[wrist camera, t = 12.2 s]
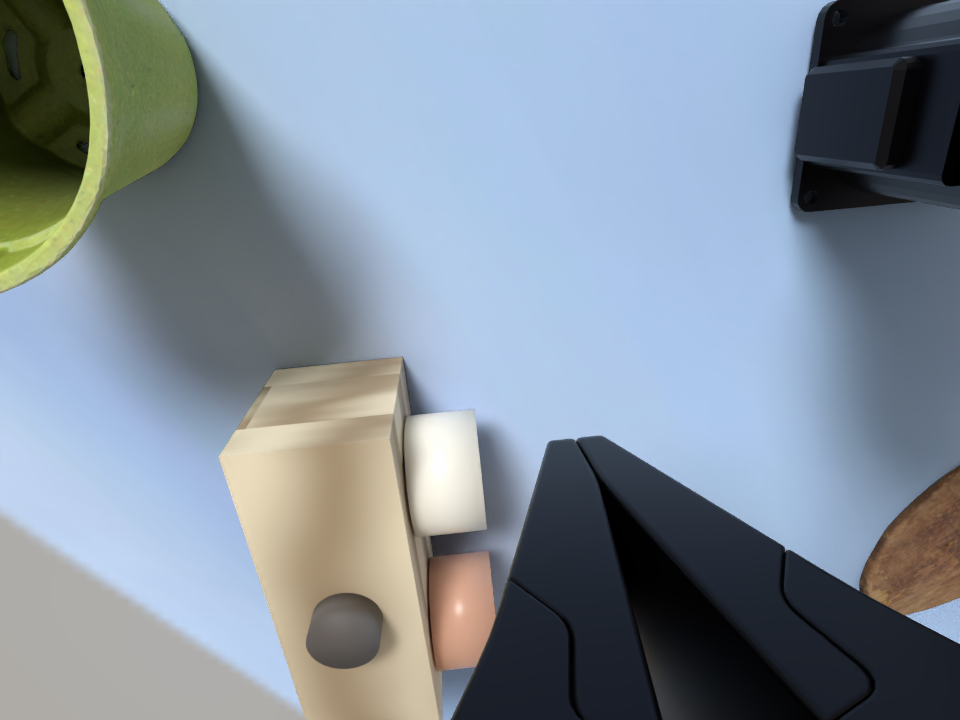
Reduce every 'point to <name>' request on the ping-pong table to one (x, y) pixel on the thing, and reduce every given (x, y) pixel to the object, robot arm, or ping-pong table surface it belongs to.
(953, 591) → the paddle
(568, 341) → the ping-pong table surface
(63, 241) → the plant pot
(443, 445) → the knob
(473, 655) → the knob
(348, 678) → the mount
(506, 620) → the robot arm
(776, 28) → the ping-pong table surface
